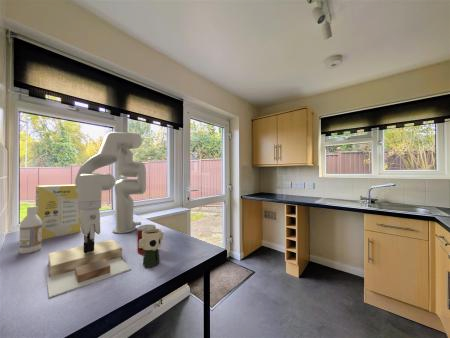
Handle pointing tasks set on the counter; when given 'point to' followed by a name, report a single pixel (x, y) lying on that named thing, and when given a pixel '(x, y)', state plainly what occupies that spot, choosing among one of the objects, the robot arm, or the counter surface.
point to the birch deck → (82, 257)
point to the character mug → (151, 246)
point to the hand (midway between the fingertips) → (88, 251)
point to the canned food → (140, 230)
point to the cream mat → (69, 281)
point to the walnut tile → (92, 270)
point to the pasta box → (58, 210)
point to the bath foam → (30, 232)
